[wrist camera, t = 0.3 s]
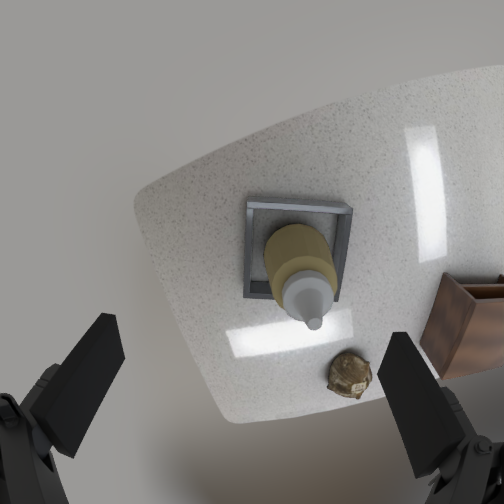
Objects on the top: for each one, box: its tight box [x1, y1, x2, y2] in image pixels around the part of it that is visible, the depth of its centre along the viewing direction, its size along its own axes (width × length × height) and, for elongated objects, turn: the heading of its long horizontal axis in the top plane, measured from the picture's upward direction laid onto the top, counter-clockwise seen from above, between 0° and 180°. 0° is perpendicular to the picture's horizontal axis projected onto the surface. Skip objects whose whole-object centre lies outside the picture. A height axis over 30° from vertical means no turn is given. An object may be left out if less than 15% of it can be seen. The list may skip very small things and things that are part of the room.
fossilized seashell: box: [327, 353, 372, 399], centre depth 44 cm, size 8×7×10 cm
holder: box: [243, 196, 353, 302], centre depth 37 cm, size 13×13×4 cm
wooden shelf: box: [419, 273, 504, 380], centre depth 37 cm, size 14×16×10 cm
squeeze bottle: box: [263, 224, 337, 330], centre depth 31 cm, size 8×8×18 cm
